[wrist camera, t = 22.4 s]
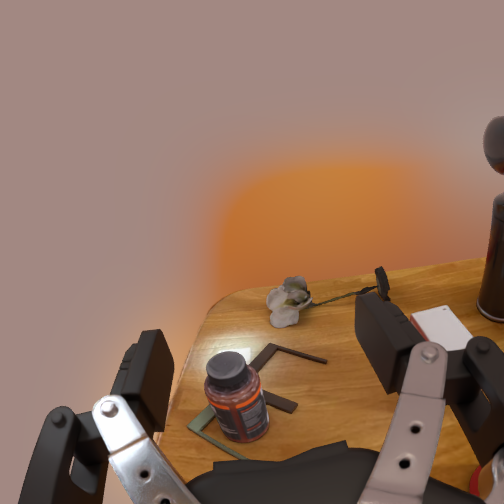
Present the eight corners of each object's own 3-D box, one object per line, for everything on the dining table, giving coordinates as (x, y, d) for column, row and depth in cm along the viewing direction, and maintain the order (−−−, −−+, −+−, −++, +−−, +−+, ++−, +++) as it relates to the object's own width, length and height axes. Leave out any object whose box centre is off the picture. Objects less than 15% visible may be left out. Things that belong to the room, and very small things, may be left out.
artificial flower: (395, 317, 47) (399, 279, 41) (273, 342, 52) (257, 308, 46) (382, 282, 54) (382, 243, 48) (272, 305, 59) (258, 269, 53)
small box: (397, 373, 34) (409, 312, 30) (431, 363, 34) (446, 302, 30) (417, 416, 27) (439, 356, 23) (453, 403, 27) (480, 342, 23)
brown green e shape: (269, 344, 46) (269, 342, 45) (327, 362, 40) (327, 359, 40) (187, 428, 32) (186, 425, 32) (250, 465, 26) (249, 463, 26)
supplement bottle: (276, 412, 33) (265, 349, 29) (258, 450, 28) (240, 392, 24) (234, 403, 36) (214, 340, 31) (213, 436, 31) (185, 377, 26)
